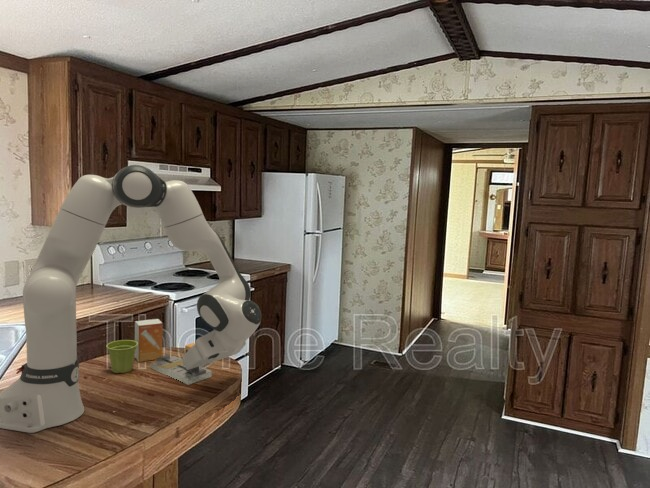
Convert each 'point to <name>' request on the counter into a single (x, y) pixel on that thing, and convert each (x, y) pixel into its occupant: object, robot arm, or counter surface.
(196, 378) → the fader console
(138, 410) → the counter surface
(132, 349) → the plant pot
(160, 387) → the counter surface
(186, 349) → the fader knob
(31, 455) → the counter surface
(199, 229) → the robot arm
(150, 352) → the small box
